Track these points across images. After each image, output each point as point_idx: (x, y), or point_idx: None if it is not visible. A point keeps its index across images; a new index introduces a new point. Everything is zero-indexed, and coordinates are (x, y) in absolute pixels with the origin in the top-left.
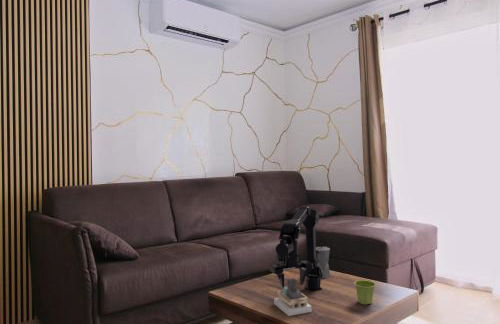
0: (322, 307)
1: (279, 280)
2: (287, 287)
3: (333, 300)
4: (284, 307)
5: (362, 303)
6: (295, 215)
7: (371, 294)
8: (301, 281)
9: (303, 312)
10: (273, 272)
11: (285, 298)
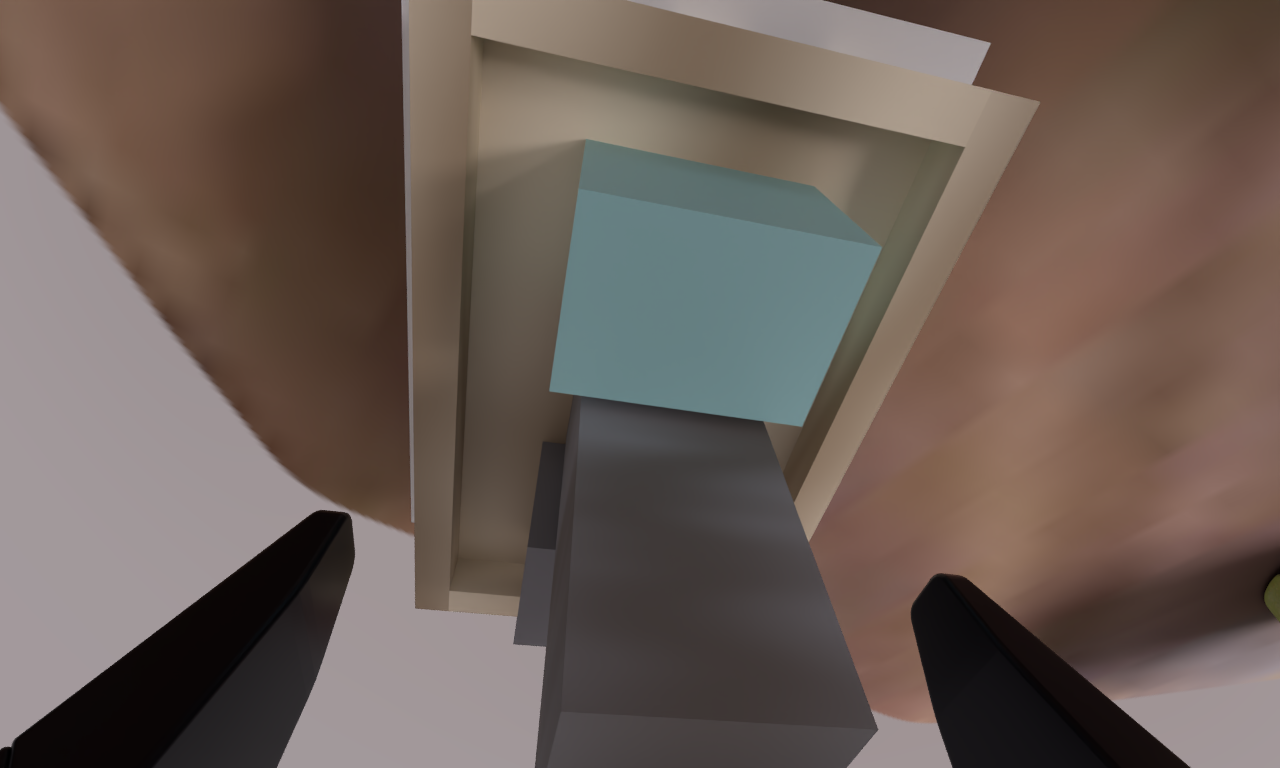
0: (938, 472)
1: (37, 733)
2: (668, 298)
3: (1253, 386)
4: (412, 413)
5: (1269, 597)
6: None
7: None
8: (959, 734)
9: None
10: None
11: (418, 474)
